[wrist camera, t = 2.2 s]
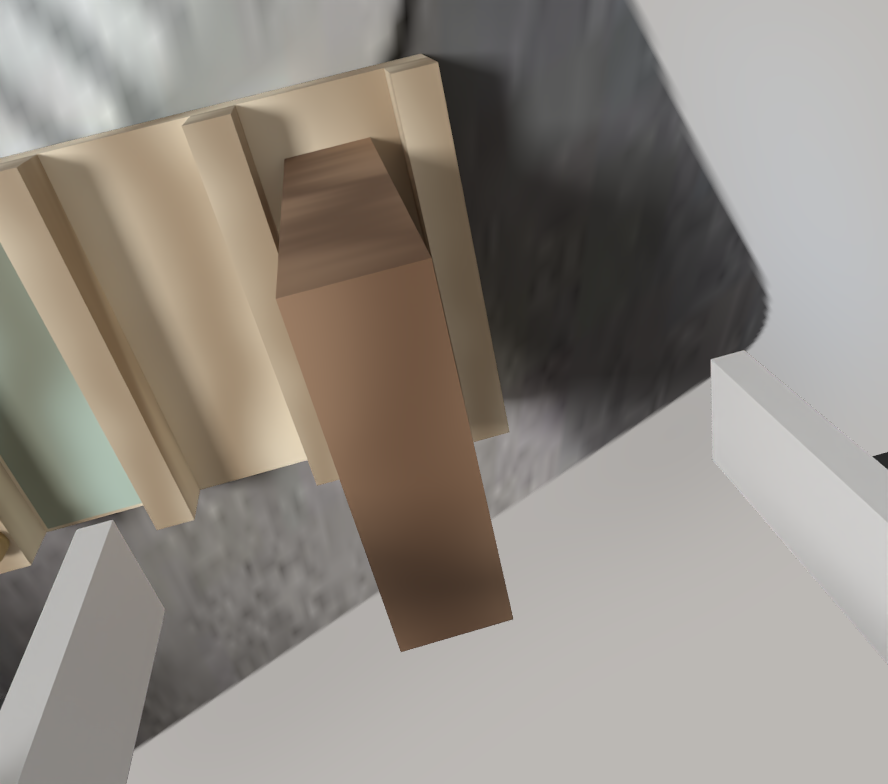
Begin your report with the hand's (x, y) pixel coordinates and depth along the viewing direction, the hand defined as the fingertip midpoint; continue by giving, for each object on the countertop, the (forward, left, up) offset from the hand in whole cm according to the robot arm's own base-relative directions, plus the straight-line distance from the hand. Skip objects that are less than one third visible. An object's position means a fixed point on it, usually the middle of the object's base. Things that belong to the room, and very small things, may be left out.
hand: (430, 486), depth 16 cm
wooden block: (0, 0, -13) cm, 13 cm away
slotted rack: (-7, 0, -15) cm, 16 cm away
